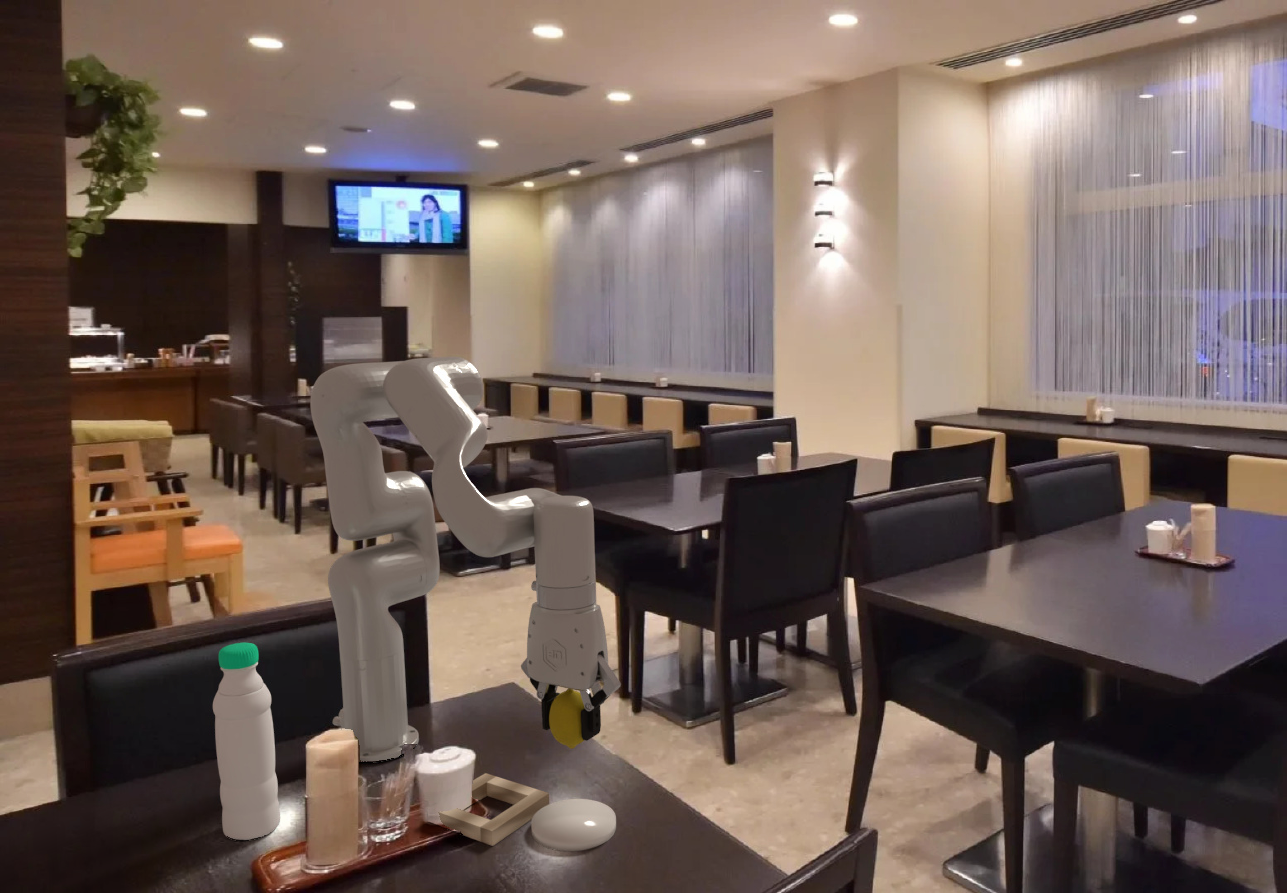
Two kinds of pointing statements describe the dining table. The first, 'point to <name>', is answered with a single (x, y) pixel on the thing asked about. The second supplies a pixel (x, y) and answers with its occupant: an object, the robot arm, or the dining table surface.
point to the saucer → (573, 824)
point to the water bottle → (245, 746)
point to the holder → (504, 823)
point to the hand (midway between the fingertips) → (571, 729)
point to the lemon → (567, 718)
